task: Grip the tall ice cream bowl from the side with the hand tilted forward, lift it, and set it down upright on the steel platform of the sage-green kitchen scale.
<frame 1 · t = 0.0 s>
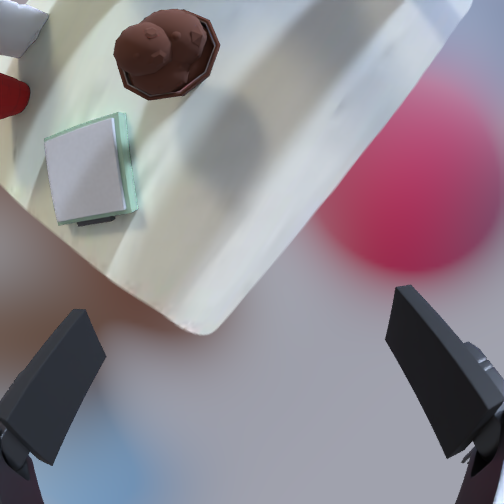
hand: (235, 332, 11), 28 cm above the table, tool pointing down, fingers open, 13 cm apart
scale: (90, 170, 34), on the table
tall pale column: (32, 36, 24), on the table
plastic cup: (21, 99, 29), on the table
ice cream bowl: (185, 72, 30), on the table
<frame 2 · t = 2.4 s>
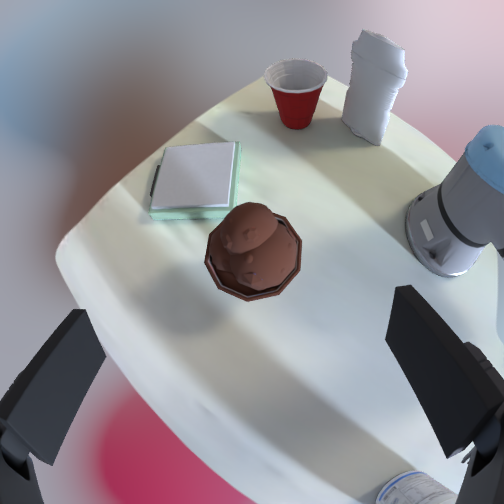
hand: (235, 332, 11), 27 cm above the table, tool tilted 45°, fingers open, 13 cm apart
scale: (198, 182, 46), on the table
tall pale column: (360, 131, 48), on the table
supplement tub: (401, 491, 25), on the table
plastic cup: (294, 121, 50), on the table
ice cream bowl: (259, 275, 40), on the table
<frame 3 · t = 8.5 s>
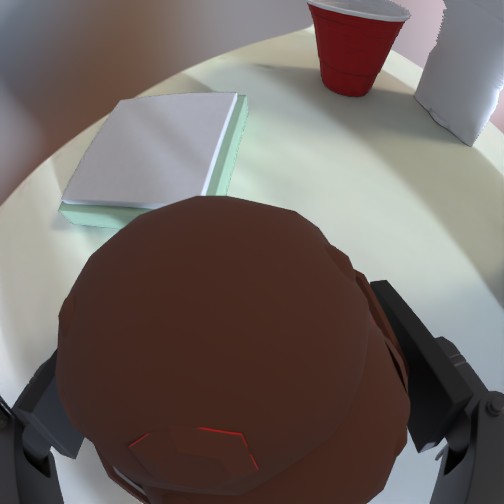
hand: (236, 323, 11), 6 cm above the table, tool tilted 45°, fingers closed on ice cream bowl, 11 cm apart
scale: (158, 162, 23), on the table
tall pale column: (442, 119, 25), on the table
plastic cup: (343, 85, 27), on the table
ice cream bowl: (250, 380, 16), on the table, touching gripper
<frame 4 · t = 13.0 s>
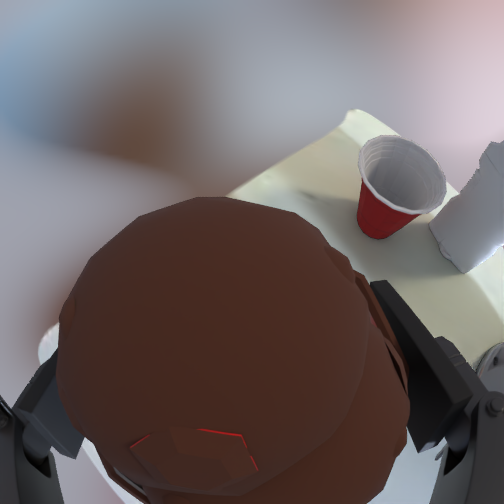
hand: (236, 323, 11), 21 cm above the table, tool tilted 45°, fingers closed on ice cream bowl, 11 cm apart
tall pale column: (448, 248, 34), on the table
plastic cup: (373, 222, 36), on the table
ice cream bowl: (250, 380, 16), point 15 cm above the table, touching gripper
when the fingers open (9 cm above the table, at t = 17.8 s): ice cream bowl stays where it is, resting on scale.
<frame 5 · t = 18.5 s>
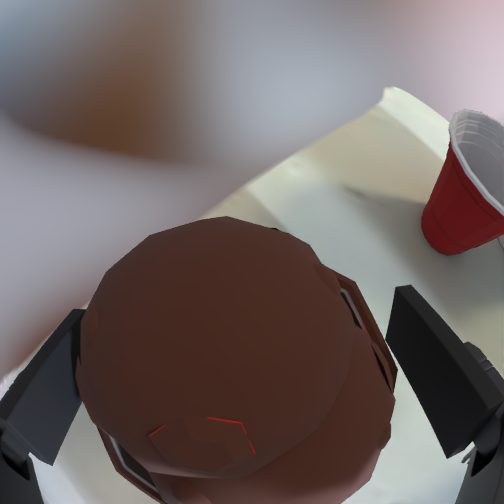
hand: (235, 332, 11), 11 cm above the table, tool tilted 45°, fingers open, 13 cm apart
plastic cup: (440, 231, 23), on the table
ice cream bowl: (249, 379, 17), point 3 cm above the table, touching scale
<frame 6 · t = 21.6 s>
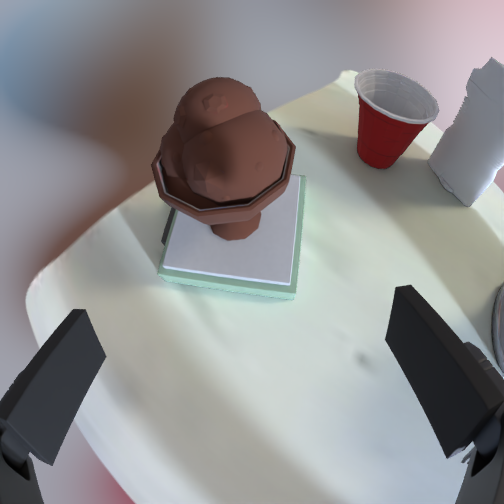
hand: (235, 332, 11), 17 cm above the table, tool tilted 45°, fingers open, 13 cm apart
scale: (237, 231, 31), on the table
tall pale column: (448, 183, 33), on the table
plastic cup: (373, 155, 35), on the table
ice cream bowl: (234, 217, 29), point 3 cm above the table, touching scale
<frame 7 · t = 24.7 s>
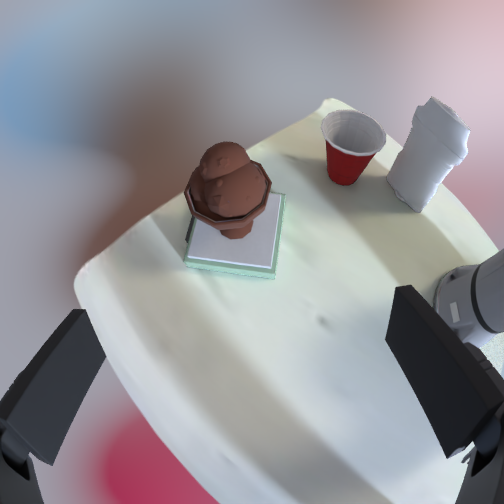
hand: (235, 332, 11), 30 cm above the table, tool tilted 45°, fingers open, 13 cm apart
scale: (237, 232, 46), on the table
tall pale column: (403, 194, 47), on the table
plastic cup: (340, 174, 50), on the table
ice cream bowl: (235, 224, 43), point 3 cm above the table, touching scale
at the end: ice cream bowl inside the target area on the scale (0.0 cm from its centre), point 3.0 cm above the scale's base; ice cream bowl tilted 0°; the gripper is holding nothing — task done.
